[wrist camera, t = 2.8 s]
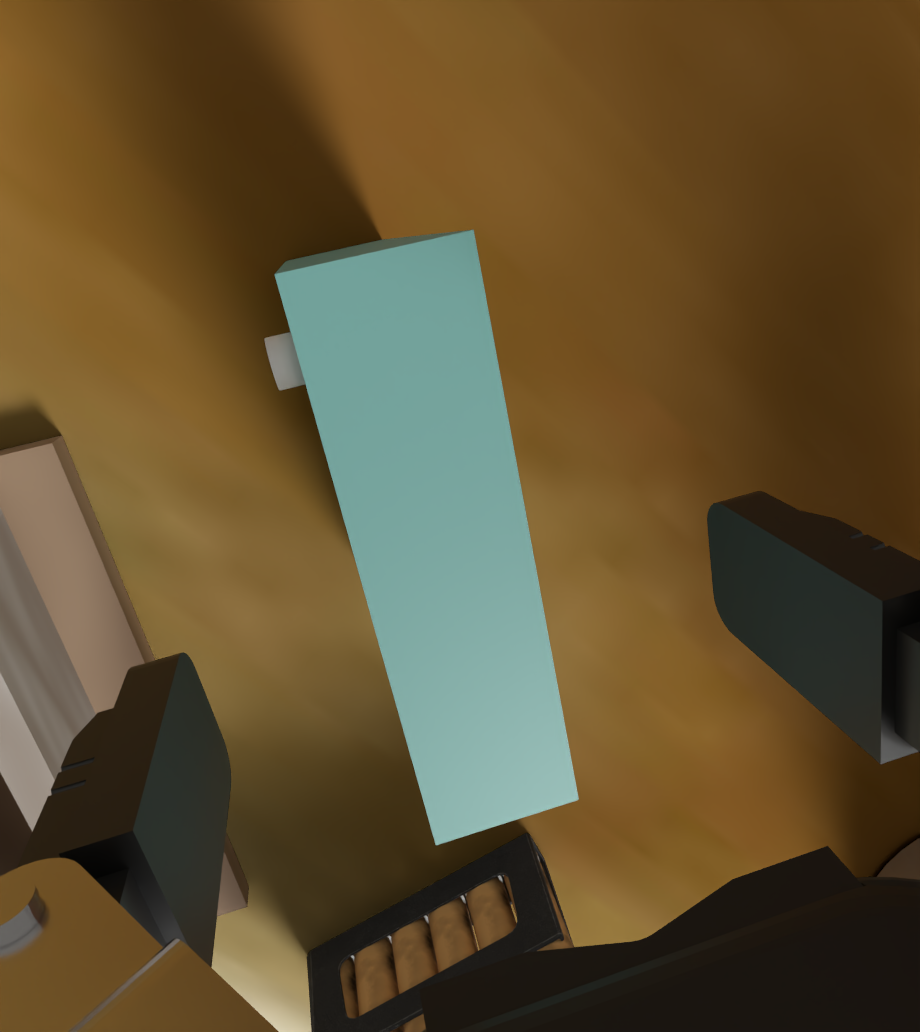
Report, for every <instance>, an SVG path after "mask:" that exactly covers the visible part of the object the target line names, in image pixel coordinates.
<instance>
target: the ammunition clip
mask: <svg viewBox="0 0 920 1032" xmlns="http://www.w3.org/2000/svg"><path fill="white" fill-rule="evenodd" d="M511 904H513V907H514V910H515V913H516V916H517V924H516V921H515V918H514V914H513V911H512V908H511ZM472 925H473V926H474V930H475V934H476V937H477V941H478V945H479V949H480V950H479V951H478V947H477V943H476V939H475V935H474V931H473V927H472ZM573 947H574V946H573V943H572V940H571V937H570V934H569V931H568V928H567V925H566V922H565V919H564V916H563V913H562V910H561V907H560V904H559V901H558V898H557V895H556V892H555V889H554V886H553V883H552V880H551V877H550V874H549V871H548V868H547V865H546V862H545V860H544V858H543V856H542V855H541V853H540V851H539V849H538V848H537V846H536V844H535V843H534V841H533V839H532V838H531V836H530V834H527V833H525V834H523V835H521V836H520V837H518V838H516V839H514V840H512V841H510V842H509V843H507V844H505V845H503V846H501V847H500V848H498V849H496V850H494V851H492V852H490V853H489V854H487V855H485V856H483V857H481V858H479V859H478V860H476V861H474V862H472V863H470V864H468V865H467V866H465V867H463V868H461V869H459V870H457V871H456V872H454V873H452V874H450V875H448V876H446V877H445V878H443V879H441V880H439V881H437V882H435V883H434V884H432V885H430V886H428V887H426V888H424V889H423V890H421V891H419V892H417V893H415V894H413V895H412V896H410V897H408V898H406V899H404V900H402V901H401V902H399V903H397V904H395V905H393V906H391V907H390V908H388V909H386V910H384V911H382V912H380V913H379V914H377V915H375V916H373V917H371V918H369V919H368V920H366V921H364V922H362V923H360V924H358V925H357V926H355V927H353V928H351V929H349V930H347V931H346V932H344V933H342V934H340V935H338V936H337V937H335V938H333V939H331V940H329V941H327V942H326V943H324V944H322V945H320V946H318V947H316V948H315V949H313V950H311V951H310V952H309V954H308V956H307V967H308V982H309V997H310V1013H311V1028H312V1032H422V1031H423V1030H424V1029H426V1027H425V1021H424V1015H423V1010H422V1004H421V998H420V992H419V989H421V988H424V987H427V986H430V985H433V984H436V983H439V982H441V981H444V980H447V979H450V978H453V977H456V976H459V975H461V974H464V973H467V972H470V971H473V970H476V969H478V968H481V967H484V966H487V965H490V964H493V963H496V962H498V961H501V960H504V959H507V958H510V957H513V956H516V955H518V954H521V953H524V952H532V951H543V950H553V949H563V948H573Z"/></svg>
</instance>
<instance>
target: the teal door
mask: <svg viewBox="0 0 920 1032" xmlns="http://www.w3.org/2000/svg"><path fill="white" fill-rule="evenodd" d="M275 278H276V282H277V285H278V289H279V292H280V296H281V299H282V303H283V306H284V310H285V313H286V317H287V320H288V324H289V328H290V331H291V332H288V333H284V334H280V335H275V336H271V337H267V338H265V345H266V350H267V354H268V358H269V361H270V365H271V368H272V372H273V375H274V378H275V381H276V384H277V386H278V389H279V390H285V389H289V388H293V387H297V386H301V385H305V384H306V388H307V391H308V395H309V398H310V402H311V405H312V409H313V412H314V416H315V420H316V423H317V427H318V430H319V434H320V437H321V441H322V444H323V448H324V451H325V455H326V458H327V462H328V466H329V469H330V473H331V476H332V480H333V483H334V487H335V490H336V494H337V497H338V501H339V504H340V508H341V512H342V515H343V519H344V522H345V526H346V529H347V533H348V536H349V540H350V543H351V547H352V550H353V554H354V558H355V561H356V565H357V568H358V572H359V575H360V579H361V582H362V586H363V589H364V593H365V596H366V600H367V604H368V607H369V611H370V614H371V618H372V621H373V625H374V628H375V632H376V635H377V639H378V642H379V646H380V650H381V653H382V657H383V660H384V664H385V667H386V671H387V674H388V678H389V681H390V685H391V688H392V692H393V696H394V699H395V703H396V706H397V710H398V713H399V717H400V720H401V724H402V727H403V731H404V734H405V738H406V742H407V745H408V749H409V752H410V756H411V759H412V763H413V766H414V770H415V773H416V777H417V780H418V784H419V788H420V791H421V795H422V798H423V802H424V805H425V809H426V812H427V816H428V819H429V823H430V826H431V830H432V834H433V837H434V841H435V844H436V845H439V844H442V843H445V842H448V841H451V840H455V839H458V838H461V837H464V836H467V835H470V834H473V833H476V832H479V831H483V830H486V829H489V828H492V827H495V826H498V825H501V824H504V823H508V822H511V821H514V820H517V819H520V818H523V817H526V816H529V815H532V814H536V813H539V812H542V811H545V810H548V809H551V808H554V807H557V806H561V805H564V804H567V803H570V802H573V801H576V800H579V799H578V793H577V788H576V782H575V777H574V772H573V766H572V761H571V755H570V750H569V745H568V739H567V734H566V728H565V723H564V718H563V712H562V707H561V701H560V696H559V690H558V685H557V680H556V674H555V669H554V663H553V658H552V653H551V647H550V642H549V636H548V631H547V626H546V620H545V615H544V609H543V604H542V598H541V593H540V588H539V582H538V577H537V571H536V566H535V561H534V555H533V550H532V544H531V539H530V533H529V528H528V523H527V517H526V512H525V506H524V501H523V496H522V490H521V485H520V479H519V474H518V469H517V463H516V458H515V452H514V447H513V441H512V436H511V431H510V425H509V420H508V414H507V409H506V404H505V398H504V393H503V387H502V382H501V377H500V371H499V366H498V360H497V355H496V349H495V344H494V339H493V333H492V328H491V322H490V317H489V312H488V306H487V301H486V295H485V290H484V285H483V279H482V274H481V268H480V263H479V257H478V252H477V247H476V241H475V236H474V230H467V231H458V232H449V233H439V234H430V235H421V236H412V237H403V238H393V239H384V240H379V241H374V242H369V243H365V244H360V245H356V246H351V247H347V248H342V249H338V250H333V251H329V252H324V253H320V254H315V255H311V256H306V257H302V258H297V259H293V260H288V261H286V262H285V263H284V264H283V265H282V266H281V267H280V268H279V270H278V271H277V272H276V273H275Z"/></svg>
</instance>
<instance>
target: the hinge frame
mask: <svg viewBox="0 0 920 1032" xmlns="http://www.w3.org/2000/svg"><path fill="white" fill-rule="evenodd" d="M151 661H155V659H154V657H153V654H152V652H151V649H150V647H149V645H148V642H147V640H146V637H145V635H144V632H143V630H142V628H141V625H140V623H139V620H138V618H137V616H136V613H135V611H134V608H133V606H132V603H131V601H130V599H129V596H128V594H127V591H126V589H125V587H124V584H123V582H122V579H121V577H120V575H119V572H118V570H117V567H116V565H115V562H114V560H113V558H112V555H111V553H110V550H109V548H108V546H107V543H106V541H105V538H104V536H103V533H102V531H101V529H100V526H99V524H98V521H97V519H96V517H95V514H94V512H93V509H92V507H91V505H90V502H89V500H88V497H87V495H86V492H85V490H84V488H83V485H82V483H81V480H80V478H79V476H78V473H77V471H76V468H75V466H74V463H73V461H72V459H71V456H70V454H69V451H68V449H67V447H66V444H65V442H64V439H63V437H62V436H57V437H53V438H49V439H45V440H41V441H37V442H32V443H28V444H24V445H20V446H16V447H12V448H8V449H3V450H0V876H2V875H4V874H6V873H8V872H10V871H12V870H14V869H16V868H17V866H18V864H19V861H20V859H21V857H22V855H23V852H24V850H25V848H26V845H27V843H28V841H29V838H30V836H31V834H32V832H33V829H34V827H35V825H36V822H37V820H38V818H39V816H40V813H41V811H42V809H43V806H44V804H45V802H46V800H47V797H48V796H50V795H51V788H52V786H53V783H54V781H55V779H56V777H57V774H58V773H59V772H61V765H62V763H63V761H64V758H65V756H66V754H67V751H68V749H69V747H70V745H71V742H72V740H73V739H74V738H75V737H76V736H77V735H78V734H79V732H80V731H81V730H82V729H83V728H84V727H85V726H86V725H87V724H88V723H89V722H90V721H91V720H92V718H93V717H94V716H95V715H96V714H97V713H98V712H101V711H105V710H108V709H112V708H114V705H115V703H116V700H117V697H118V695H119V692H120V690H121V687H122V684H123V682H124V679H125V676H126V674H127V671H128V669H129V668H130V667H133V666H137V665H140V664H144V663H147V662H151ZM248 890H249V886H248V883H247V881H246V879H245V876H244V874H243V871H242V869H241V867H240V864H239V862H238V859H237V857H236V854H235V852H234V850H233V847H232V845H231V842H230V840H229V838H228V835H227V833H226V836H225V845H224V855H223V864H222V873H221V882H220V892H219V901H218V910H217V916H220V915H223V914H226V913H229V912H232V911H235V910H238V909H242V908H245V907H247V903H248Z"/></svg>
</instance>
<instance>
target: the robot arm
mask: <svg viewBox="0 0 920 1032" xmlns="http://www.w3.org/2000/svg"><path fill="white" fill-rule="evenodd" d="M707 524H708V536H709V547H710V559H711V571H712V582H713V593H714V599H715V604H716V607H717V610H718V612H719V615H720V617H721V619H722V621H723V623H724V624H725V626H726V627H727V628H728V630H729V631H730V632H731V633H732V634H733V635H734V636H736V637H737V638H738V639H739V640H740V641H741V642H742V643H743V644H745V645H746V646H747V647H748V648H749V649H750V650H751V651H753V652H754V653H755V654H756V655H757V656H758V657H759V658H761V659H762V660H763V661H764V662H765V663H766V664H767V665H768V666H770V667H771V668H772V669H773V670H774V671H775V672H776V673H778V674H779V675H780V676H781V677H782V678H783V679H784V680H785V681H787V682H788V683H789V684H790V685H791V686H792V687H793V688H795V689H796V690H797V691H798V692H799V693H800V694H801V695H803V696H804V697H805V698H806V699H807V700H808V701H809V702H810V703H812V704H813V705H814V706H815V707H816V708H817V709H818V710H820V711H821V712H822V713H823V714H824V715H825V716H826V717H828V718H829V719H830V720H831V721H832V722H833V723H834V724H835V725H837V726H838V727H839V728H840V729H841V730H842V731H843V732H845V733H846V734H847V735H848V736H849V737H850V738H851V739H852V740H854V741H855V742H856V743H857V744H858V745H859V746H860V747H862V748H863V749H864V750H865V751H866V752H867V753H868V754H870V755H871V756H872V757H873V758H874V759H875V760H876V761H877V762H879V763H880V764H883V763H886V762H889V761H892V760H895V759H898V758H901V757H904V756H907V755H910V754H913V753H916V752H920V561H919V560H917V559H915V558H913V557H911V556H909V555H907V554H905V553H903V552H901V551H899V550H897V549H895V548H893V547H891V546H888V547H885V545H884V543H883V542H881V541H879V540H877V539H875V538H873V537H871V536H869V535H865V536H863V534H862V532H861V531H859V530H857V529H855V528H853V527H851V526H849V525H847V524H845V523H843V522H841V521H839V520H837V519H835V518H830V517H826V516H821V515H817V514H812V513H808V512H804V511H799V510H797V509H795V508H793V507H791V506H790V505H788V504H786V503H784V502H782V501H780V500H778V499H776V498H774V497H772V496H770V495H769V494H767V493H765V492H762V491H757V492H753V493H749V494H746V495H742V496H739V497H735V498H732V499H728V500H725V501H721V502H718V503H714V504H713V505H711V507H710V508H709V511H708V517H707ZM230 789H231V770H230V763H229V757H228V753H227V749H226V745H225V742H224V739H223V737H222V734H221V732H220V729H219V727H218V724H217V722H216V719H215V717H214V714H213V712H212V709H211V707H210V704H209V702H208V699H207V696H206V694H205V691H204V689H203V686H202V684H201V681H200V679H199V676H198V674H197V671H196V669H195V667H194V664H193V662H192V660H191V659H190V657H189V656H188V655H187V654H186V653H179V654H176V655H172V656H169V657H165V658H162V659H158V660H155V661H151V662H147V663H144V664H140V665H137V666H133V667H130V668H129V669H128V671H127V674H126V676H125V679H124V682H123V684H122V687H121V690H120V692H119V695H118V697H117V700H116V703H115V705H114V708H112V709H108V710H105V711H101V712H98V713H97V714H96V715H95V716H94V717H93V718H92V720H91V721H90V722H89V723H88V724H87V725H86V726H85V727H84V728H83V729H82V730H81V731H80V732H79V734H78V735H77V736H76V737H75V738H74V739H73V740H72V742H71V745H70V747H69V749H68V751H67V754H66V756H65V758H64V761H63V763H62V765H61V772H59V773H58V774H57V777H56V779H55V781H54V783H53V786H52V788H51V795H50V796H48V797H47V800H46V802H45V804H44V806H43V809H42V811H41V813H40V816H39V818H38V820H37V822H36V825H35V827H34V829H33V832H32V834H31V836H30V838H29V841H28V843H27V845H26V848H25V850H24V852H23V855H22V857H21V859H20V861H19V864H18V866H17V868H16V869H14V870H12V871H10V872H8V873H6V874H4V875H2V876H0V1032H278V1031H277V1030H276V1029H275V1028H274V1027H273V1026H272V1025H271V1024H270V1023H269V1022H268V1021H267V1020H266V1019H265V1018H264V1017H263V1016H262V1015H260V1014H259V1013H258V1012H257V1011H256V1010H255V1009H254V1008H253V1007H252V1006H251V1005H250V1004H249V1003H248V1002H247V1001H246V1000H245V999H244V998H243V997H242V996H240V995H239V994H238V993H237V992H236V991H235V990H234V989H233V988H232V987H231V986H230V985H229V984H228V983H227V982H226V981H225V980H224V979H223V978H221V977H220V976H219V975H218V974H217V973H216V972H215V971H214V970H213V969H212V968H211V966H212V957H213V948H214V938H215V929H216V920H217V910H218V901H219V892H220V882H221V873H222V864H223V855H224V845H225V836H226V827H227V817H228V808H229V799H230ZM419 992H420V998H421V1004H422V1010H423V1015H424V1021H425V1027H426V1029H424V1030H423V1031H422V1032H920V838H919V839H917V840H915V841H914V842H913V843H911V844H910V845H908V846H907V847H906V848H904V849H903V850H901V851H900V852H899V853H898V854H897V855H896V856H895V857H894V858H893V859H892V860H891V861H890V862H889V863H887V864H886V866H885V867H884V868H883V869H882V871H881V872H880V873H879V874H878V876H877V877H859V878H856V877H855V876H854V875H853V874H852V873H851V872H850V871H849V869H848V868H847V867H846V866H845V865H844V864H843V863H842V862H841V861H840V859H839V858H838V857H837V856H836V855H835V854H834V853H833V852H832V850H831V849H830V848H829V847H828V846H826V847H824V848H821V849H818V850H815V851H812V852H809V853H806V854H804V855H801V856H798V857H795V858H792V859H789V860H786V861H784V862H781V863H778V864H775V865H772V866H769V867H767V868H764V869H761V870H758V871H755V872H752V873H749V874H747V875H744V876H741V877H738V878H735V879H732V880H731V881H730V882H728V883H727V884H725V885H724V886H722V887H721V888H719V889H718V890H716V891H715V892H714V893H712V894H711V895H709V896H708V897H706V898H705V899H703V900H702V901H700V902H699V903H698V904H696V905H695V906H693V907H692V908H690V909H689V910H687V911H686V912H684V913H683V914H682V915H680V916H679V917H677V918H676V919H674V920H673V921H671V922H670V923H668V924H667V925H666V926H664V927H663V928H661V929H660V930H658V931H657V932H655V933H654V934H652V935H650V936H649V937H647V938H644V939H641V940H638V941H633V942H624V943H614V944H604V945H594V946H583V947H573V948H563V949H553V950H543V951H532V952H524V953H521V954H518V955H516V956H513V957H510V958H507V959H504V960H501V961H498V962H496V963H493V964H490V965H487V966H484V967H481V968H478V969H476V970H473V971H470V972H467V973H464V974H461V975H459V976H456V977H453V978H450V979H447V980H444V981H441V982H439V983H436V984H433V985H430V986H427V987H424V988H421V989H419Z"/></svg>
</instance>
